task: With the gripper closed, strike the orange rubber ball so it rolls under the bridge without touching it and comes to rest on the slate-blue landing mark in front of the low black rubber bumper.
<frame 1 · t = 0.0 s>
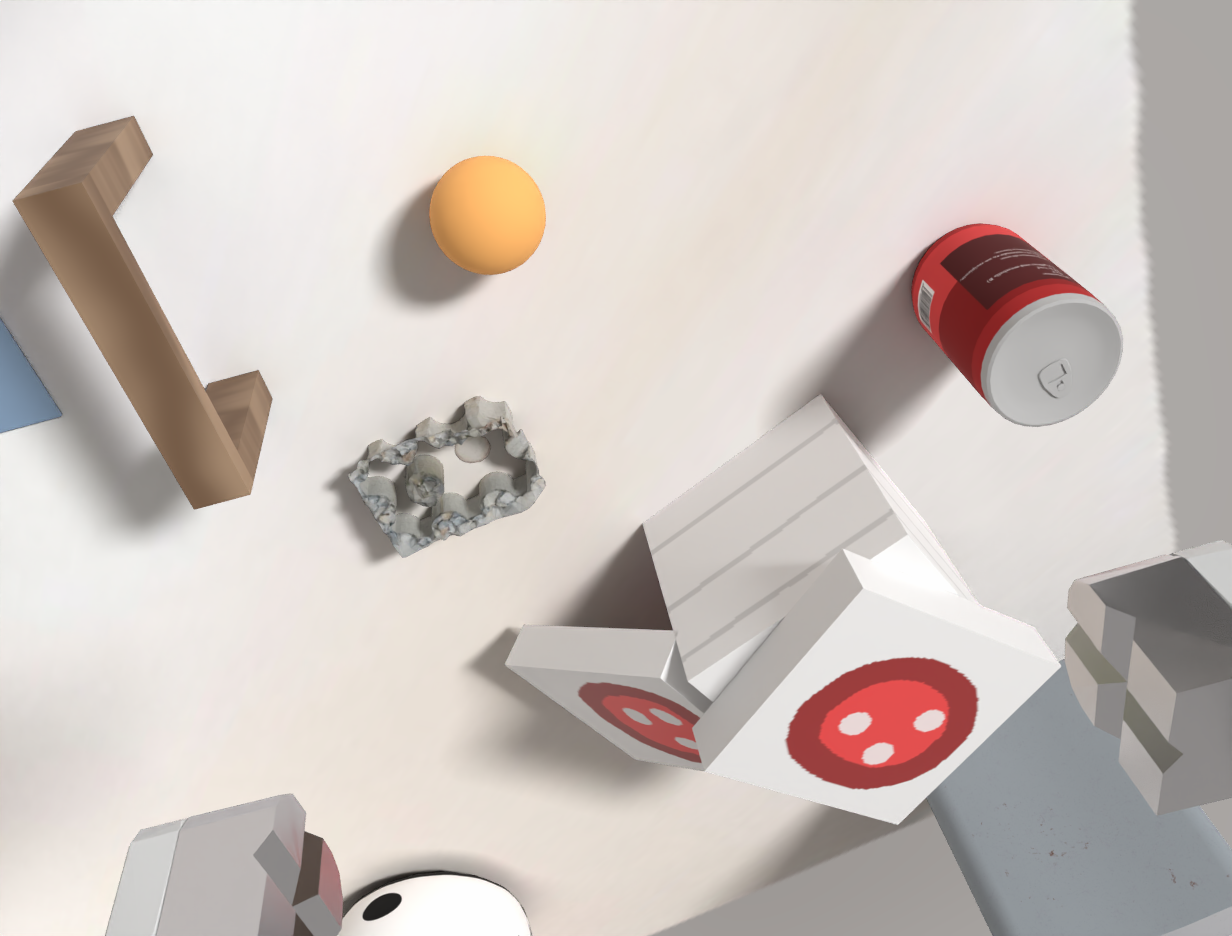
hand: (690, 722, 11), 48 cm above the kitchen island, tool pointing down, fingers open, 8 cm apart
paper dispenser: (727, 565, 75), on the kitchen island
egg carton: (449, 456, 66), on the kitchen island
bridge: (182, 276, 56), on the kitchen island
flask: (993, 701, 88), on the kitchen island
ball: (487, 216, 54), on the kitchen island
canned food: (965, 278, 64), on the kitchen island
milk container: (432, 910, 93), on the kitchen island
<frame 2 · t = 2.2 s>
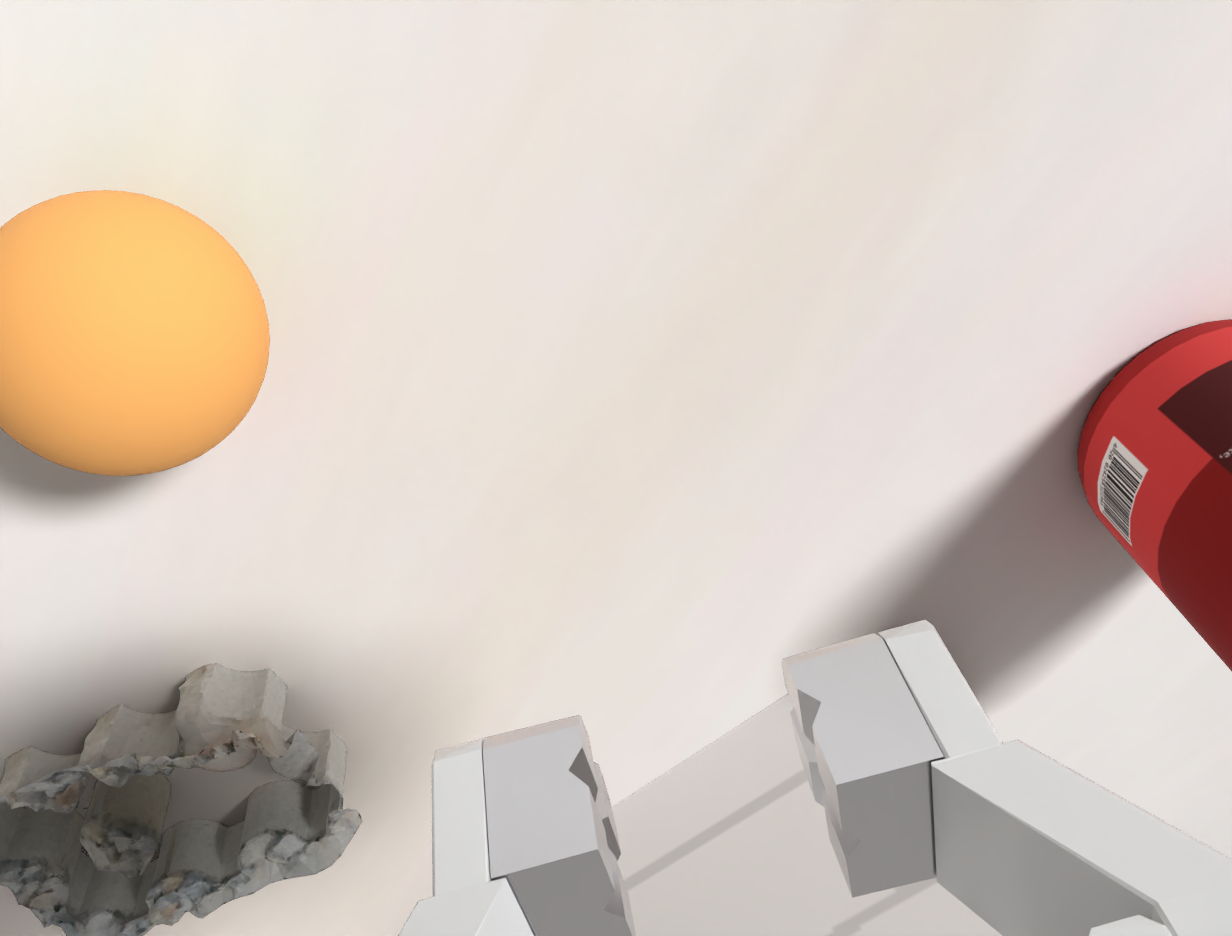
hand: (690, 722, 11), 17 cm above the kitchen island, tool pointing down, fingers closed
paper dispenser: (715, 886, 43), on the kitchen island
egg carton: (183, 759, 34), on the kitchen island
ball: (121, 335, 22), on the kitchen island
canned food: (1182, 421, 32), on the kitchen island
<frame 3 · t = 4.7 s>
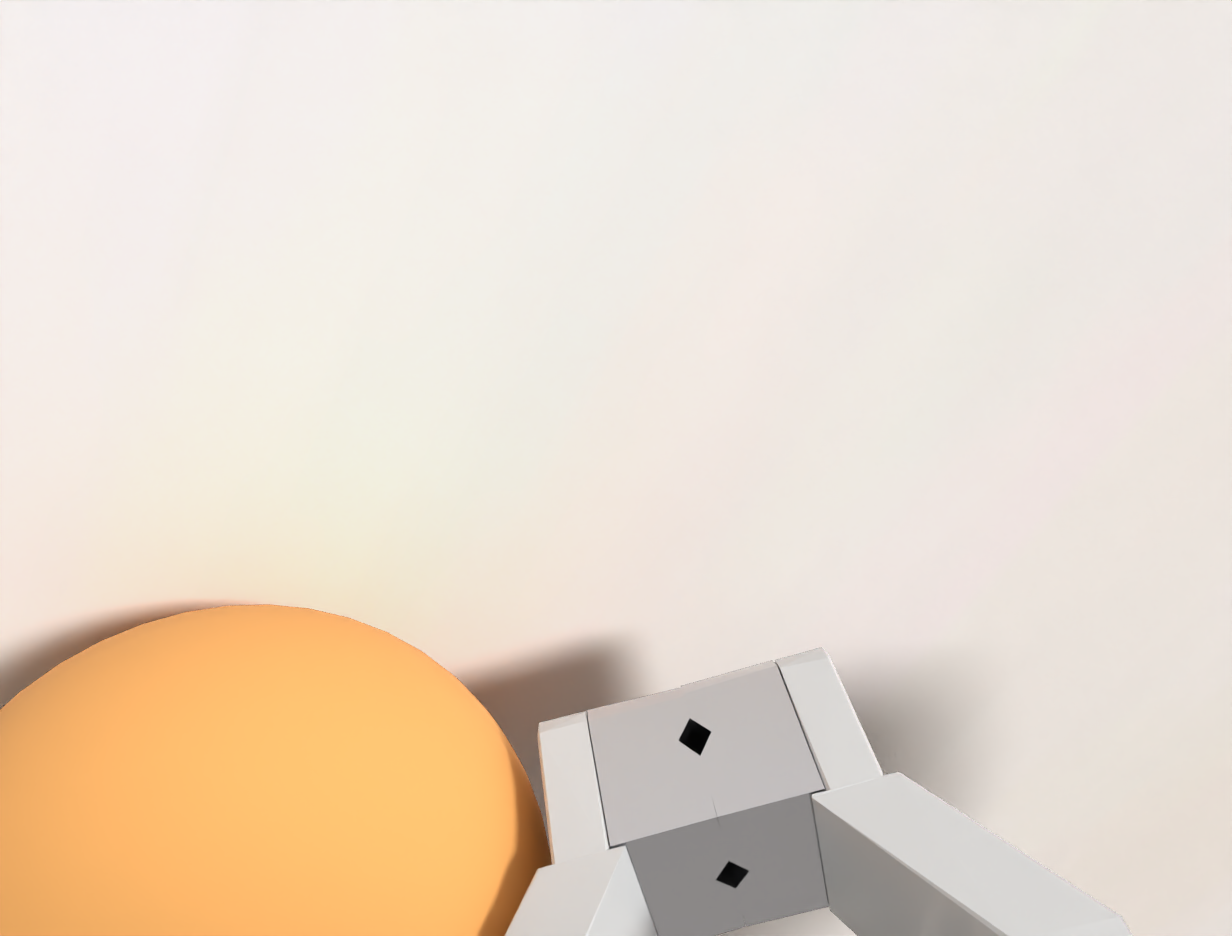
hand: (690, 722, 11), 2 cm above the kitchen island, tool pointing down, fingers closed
ball: (243, 918, 10), on the kitchen island
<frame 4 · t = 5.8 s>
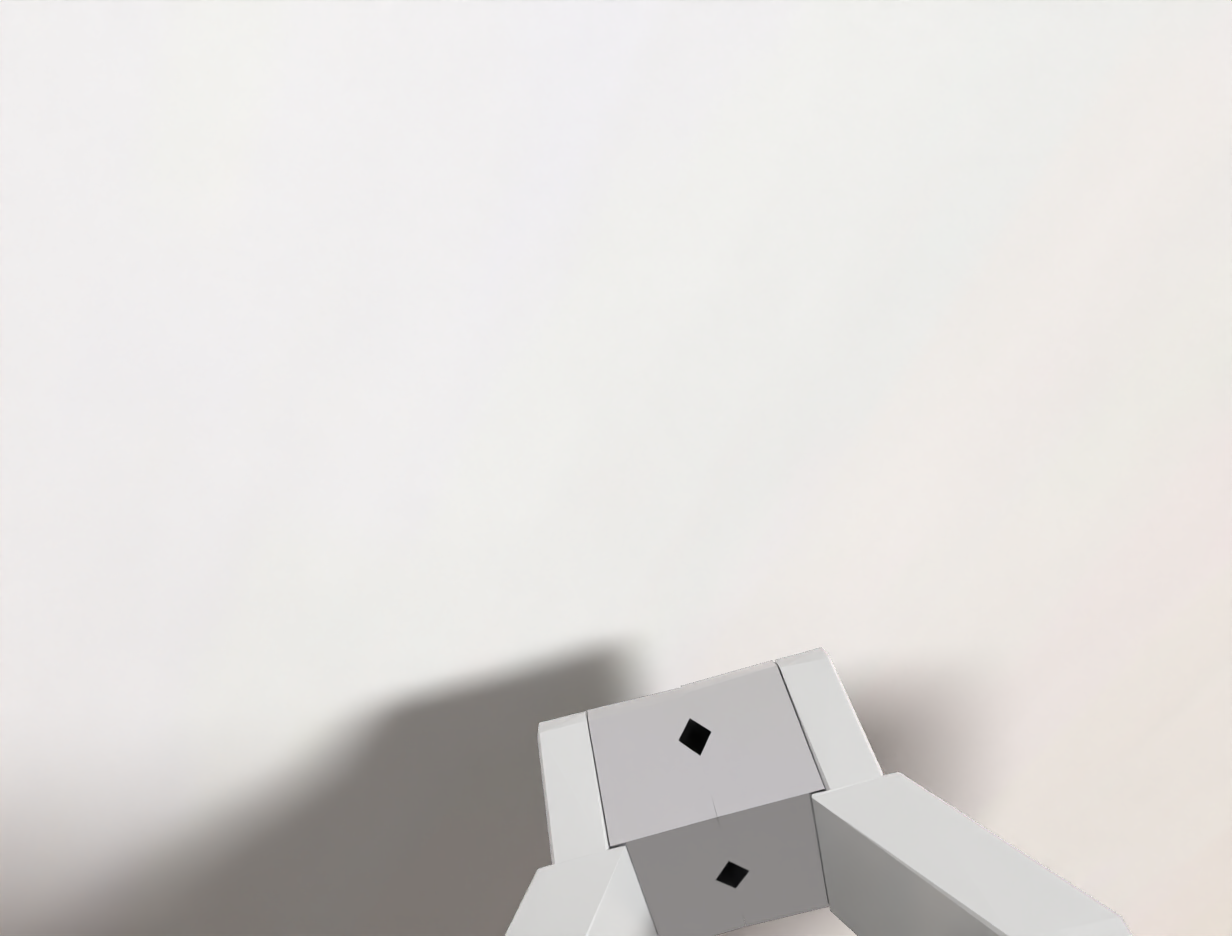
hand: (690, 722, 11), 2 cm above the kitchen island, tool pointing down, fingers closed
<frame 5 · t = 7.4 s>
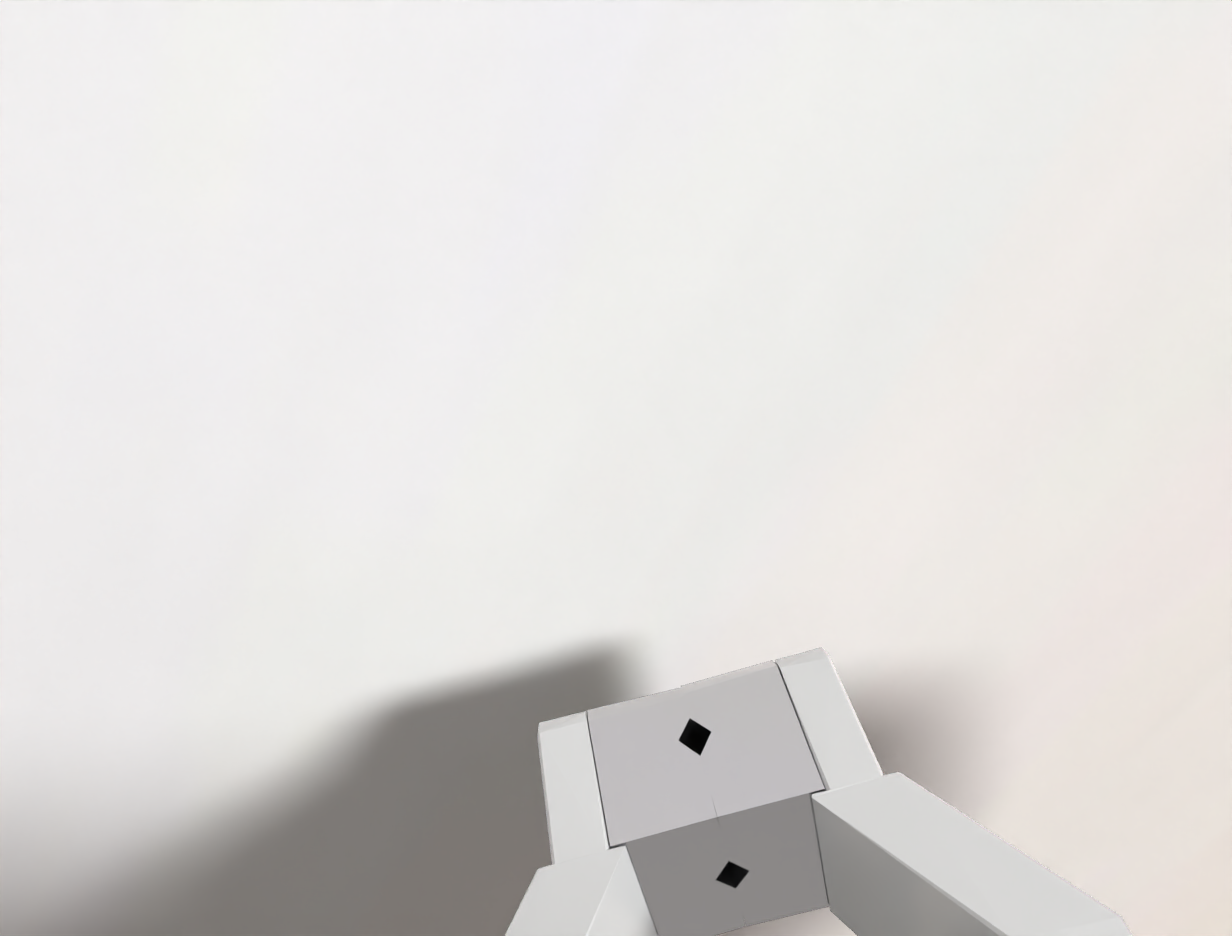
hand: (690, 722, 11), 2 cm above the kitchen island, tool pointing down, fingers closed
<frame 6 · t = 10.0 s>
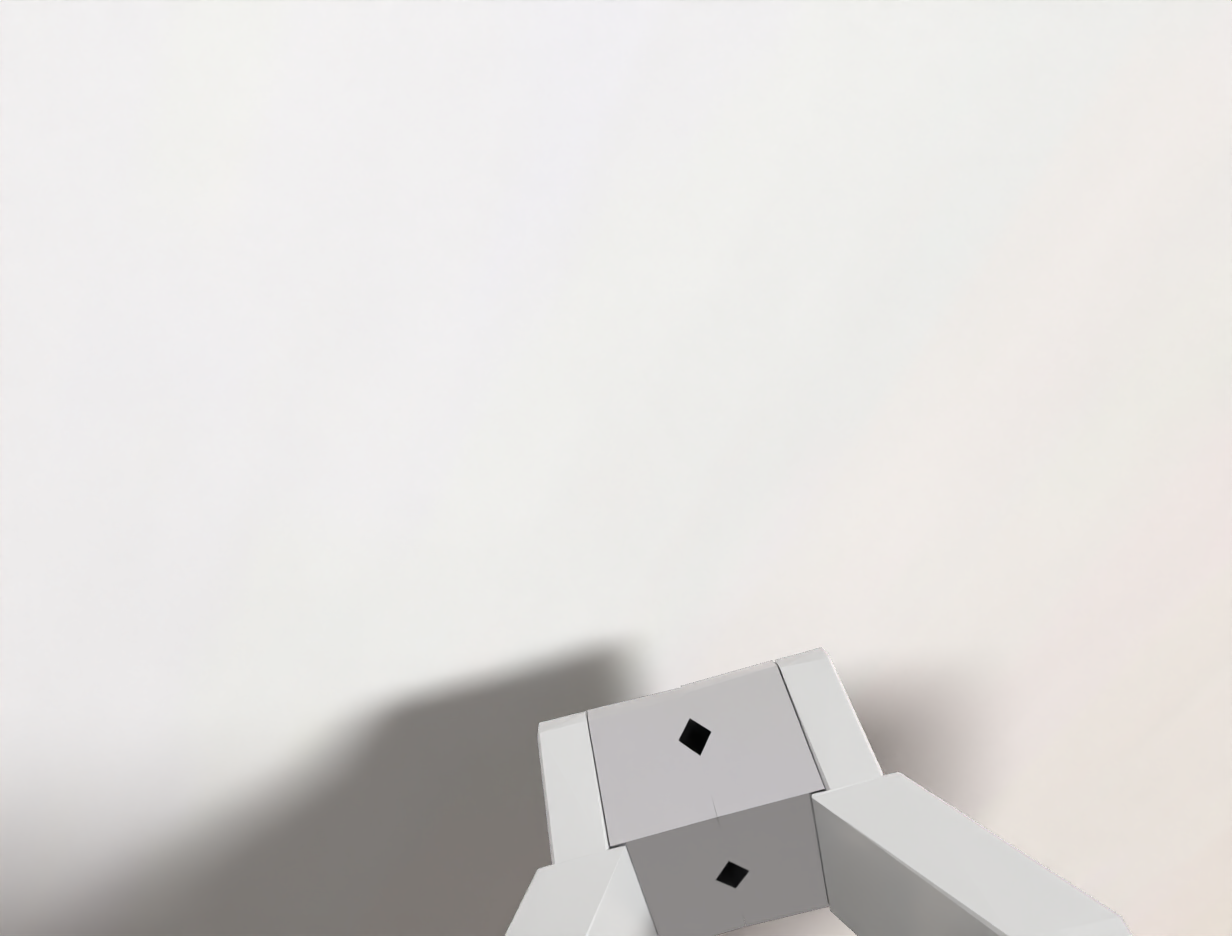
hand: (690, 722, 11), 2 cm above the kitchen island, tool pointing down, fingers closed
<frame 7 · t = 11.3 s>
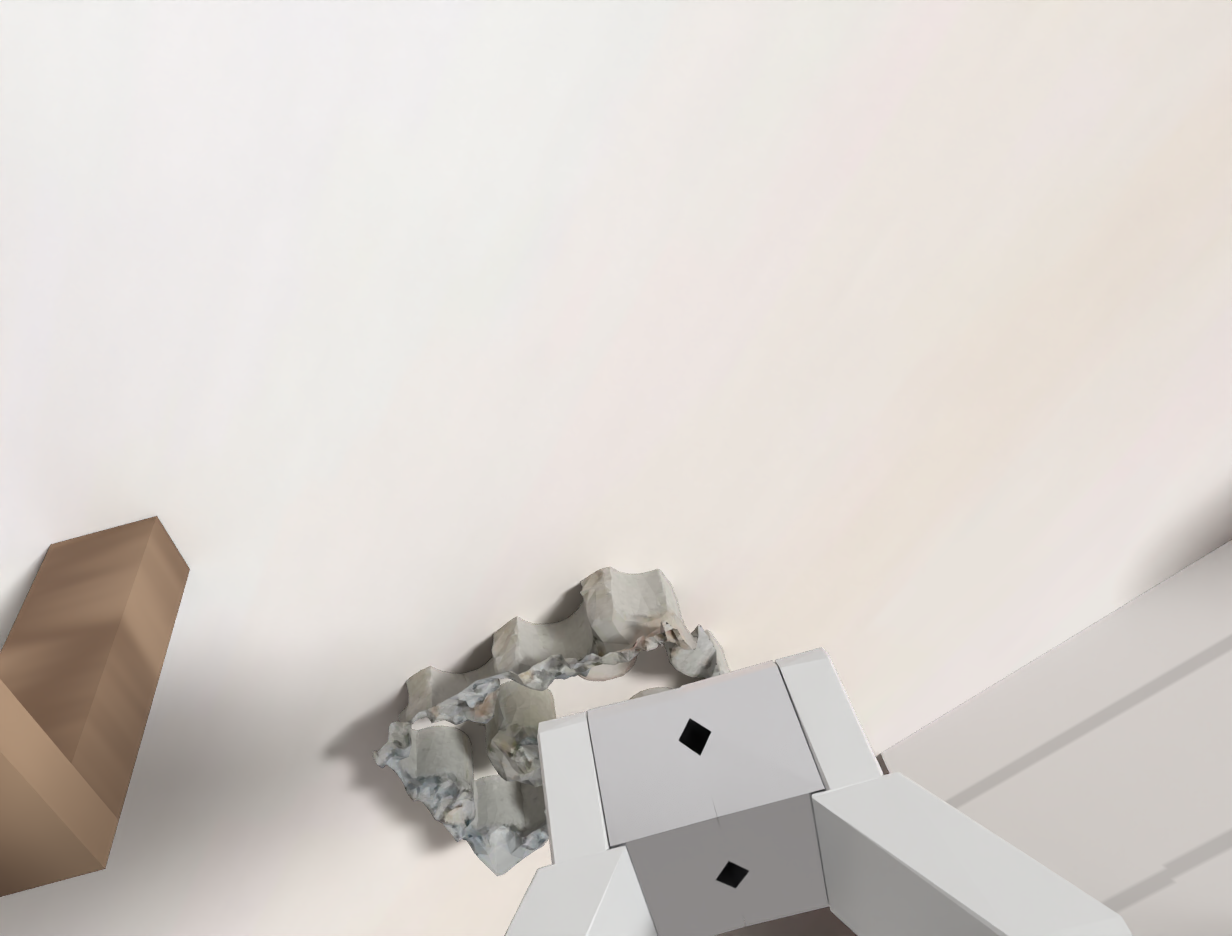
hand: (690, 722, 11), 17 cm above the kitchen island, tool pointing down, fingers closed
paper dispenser: (1007, 806, 43), on the kitchen island
egg carton: (562, 672, 35), on the kitchen island
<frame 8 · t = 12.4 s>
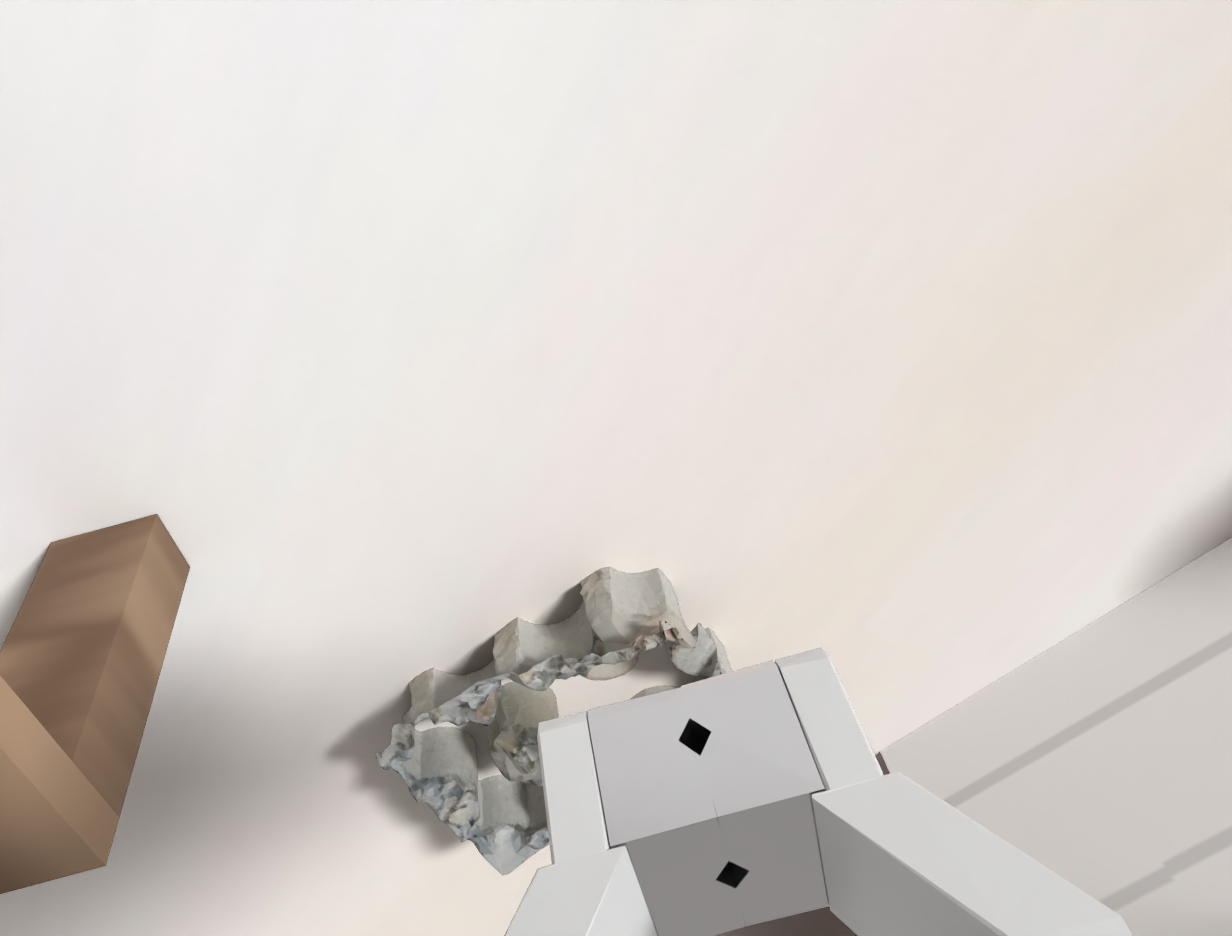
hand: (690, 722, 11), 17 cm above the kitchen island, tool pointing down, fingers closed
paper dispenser: (1007, 804, 43), on the kitchen island
egg carton: (564, 672, 35), on the kitchen island
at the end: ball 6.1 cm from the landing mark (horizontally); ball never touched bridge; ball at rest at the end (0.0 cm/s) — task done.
